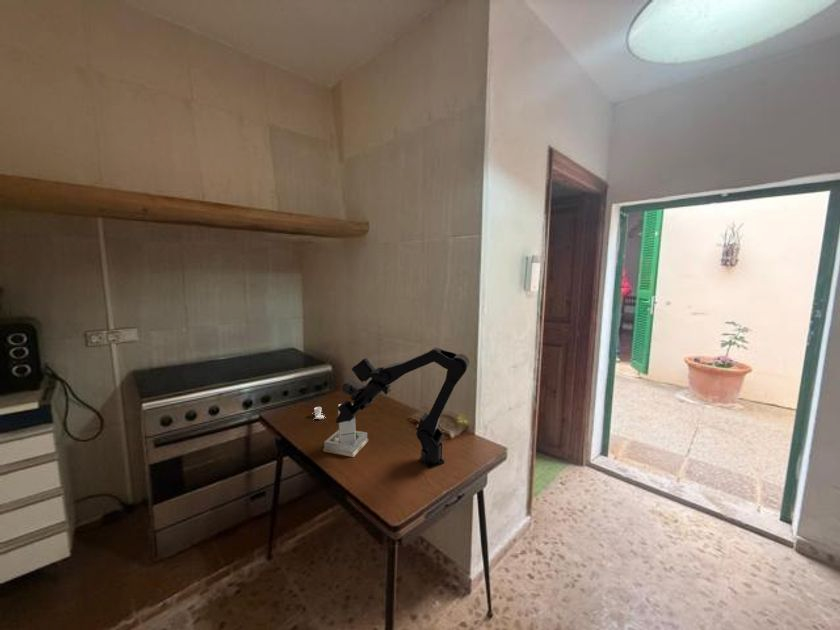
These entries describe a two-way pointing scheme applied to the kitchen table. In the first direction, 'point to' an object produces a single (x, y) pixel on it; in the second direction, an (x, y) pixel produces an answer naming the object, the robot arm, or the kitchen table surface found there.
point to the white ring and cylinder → (318, 413)
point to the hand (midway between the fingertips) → (343, 416)
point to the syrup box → (347, 431)
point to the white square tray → (345, 449)
